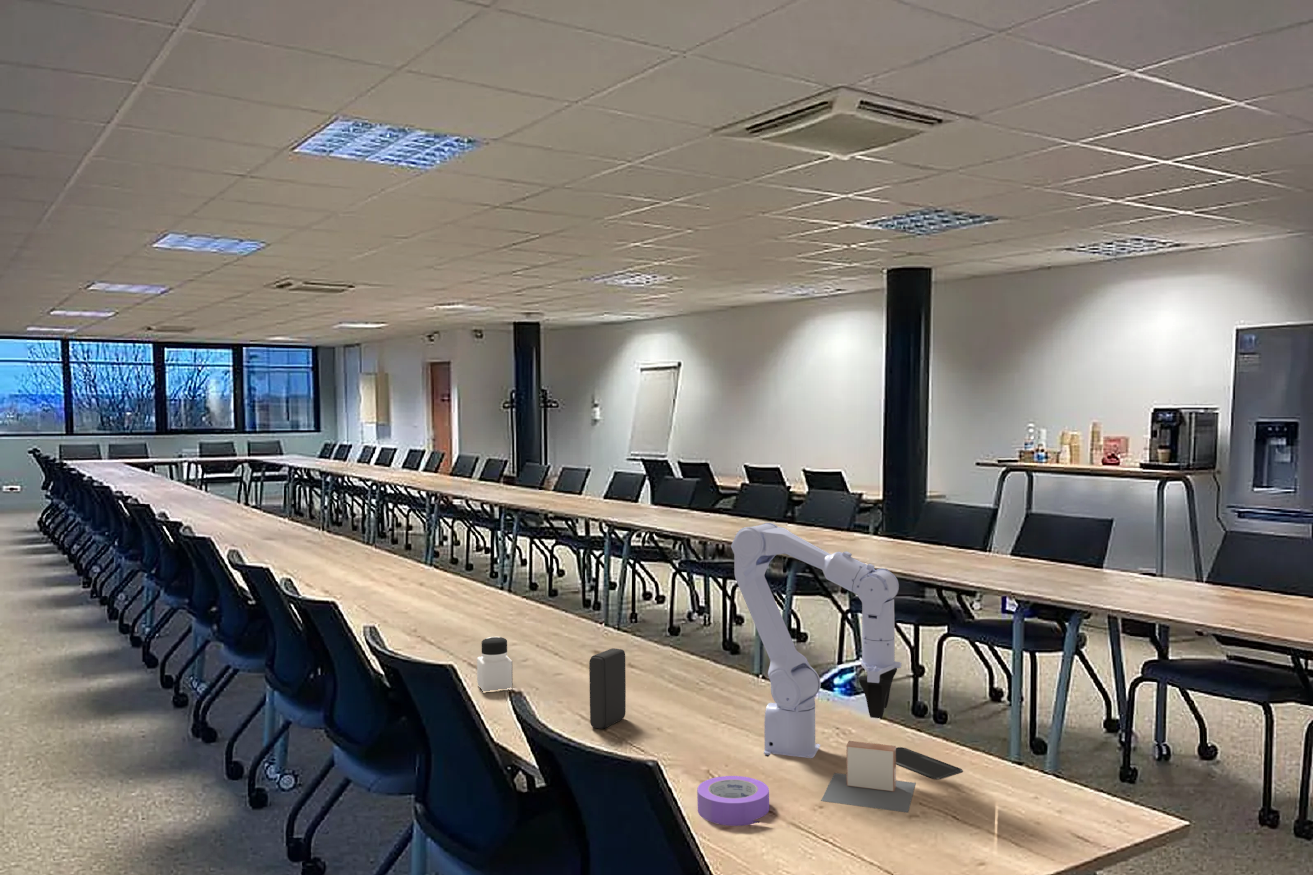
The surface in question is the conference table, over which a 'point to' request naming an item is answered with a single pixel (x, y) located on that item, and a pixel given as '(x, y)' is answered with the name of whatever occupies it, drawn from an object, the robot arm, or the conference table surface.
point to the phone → (924, 764)
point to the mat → (869, 795)
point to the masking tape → (733, 800)
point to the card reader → (607, 688)
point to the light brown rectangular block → (871, 766)
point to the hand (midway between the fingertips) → (878, 712)
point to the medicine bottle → (494, 665)
